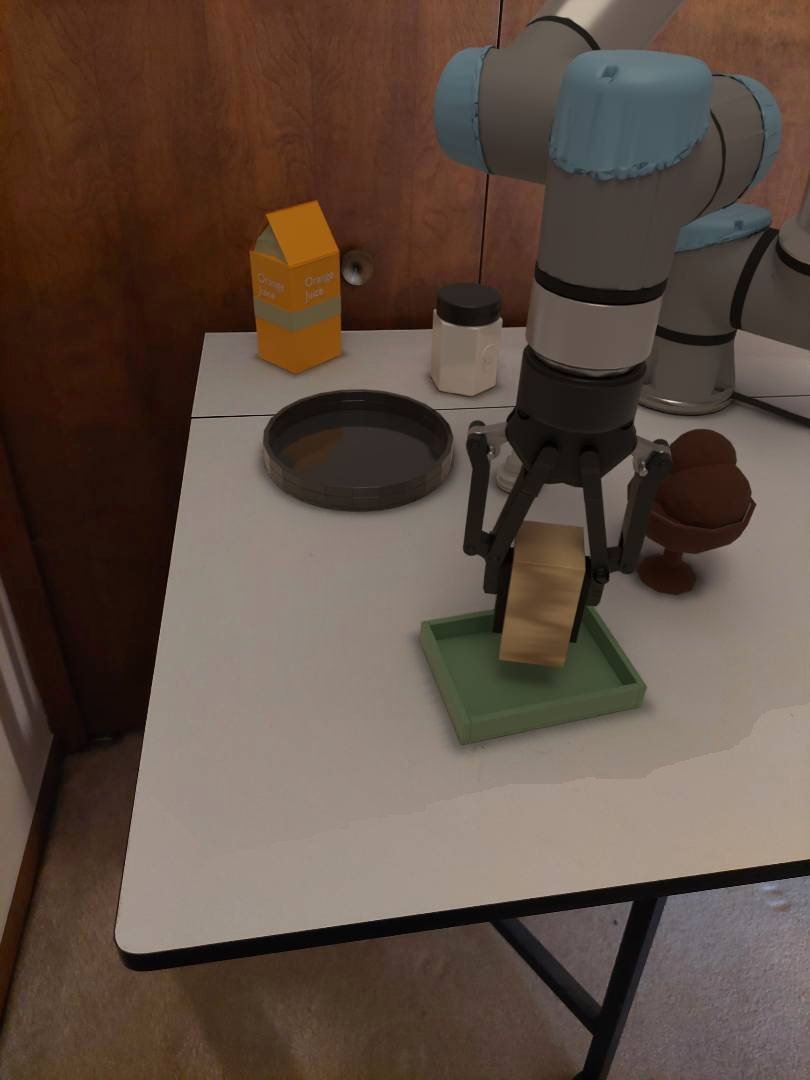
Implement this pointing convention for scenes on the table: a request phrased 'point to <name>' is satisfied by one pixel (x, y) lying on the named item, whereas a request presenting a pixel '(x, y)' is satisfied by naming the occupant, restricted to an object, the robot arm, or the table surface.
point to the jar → (466, 338)
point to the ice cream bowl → (695, 508)
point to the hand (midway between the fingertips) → (534, 625)
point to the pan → (358, 449)
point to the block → (542, 593)
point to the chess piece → (508, 472)
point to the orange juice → (296, 288)
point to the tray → (525, 678)
